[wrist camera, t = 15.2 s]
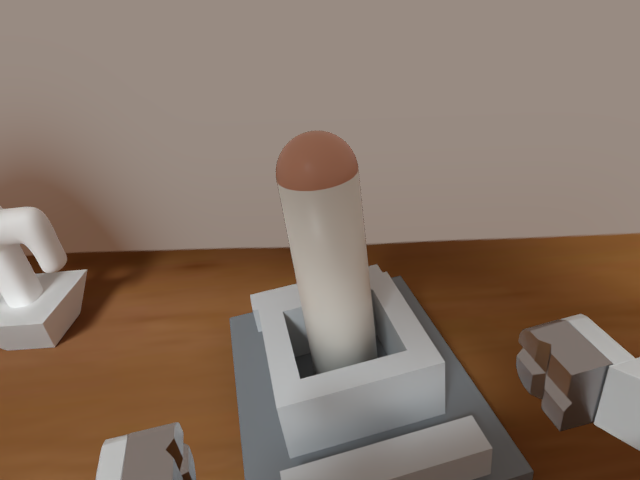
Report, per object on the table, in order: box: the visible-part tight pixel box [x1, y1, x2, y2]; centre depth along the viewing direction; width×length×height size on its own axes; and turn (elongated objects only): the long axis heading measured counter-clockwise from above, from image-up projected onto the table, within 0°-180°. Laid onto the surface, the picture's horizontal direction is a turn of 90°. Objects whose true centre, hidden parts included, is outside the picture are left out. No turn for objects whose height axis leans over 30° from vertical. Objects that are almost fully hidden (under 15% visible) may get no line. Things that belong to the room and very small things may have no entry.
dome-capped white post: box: [276, 131, 378, 375], centre depth 26 cm, size 4×4×16 cm
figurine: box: [0, 206, 87, 350], centre depth 38 cm, size 7×9×15 cm
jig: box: [230, 264, 534, 480], centre depth 30 cm, size 18×14×6 cm
